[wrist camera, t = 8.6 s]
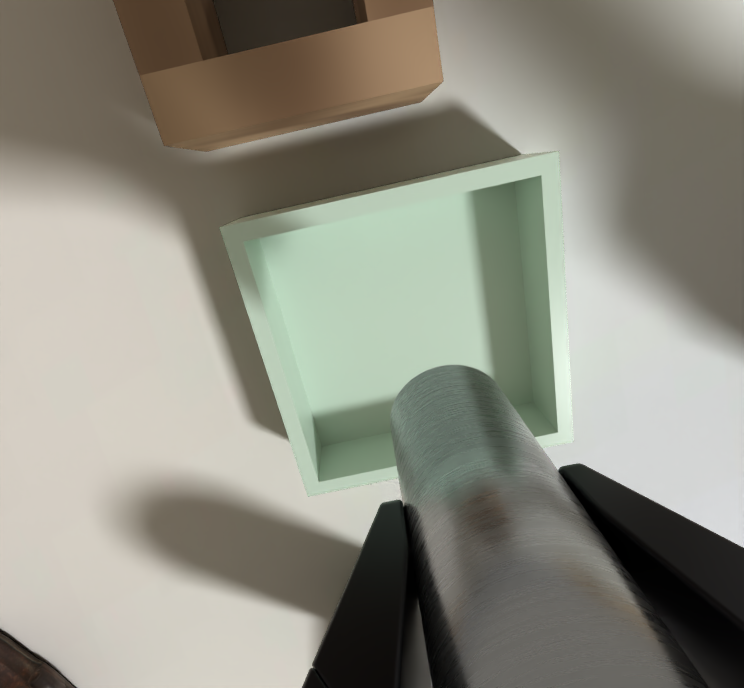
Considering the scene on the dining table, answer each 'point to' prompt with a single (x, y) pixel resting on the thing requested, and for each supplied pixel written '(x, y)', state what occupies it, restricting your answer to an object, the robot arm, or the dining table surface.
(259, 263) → the tray
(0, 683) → the dark brown ornamental box
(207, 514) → the dining table surface
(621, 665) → the cylinder
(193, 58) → the brown square sleeve
